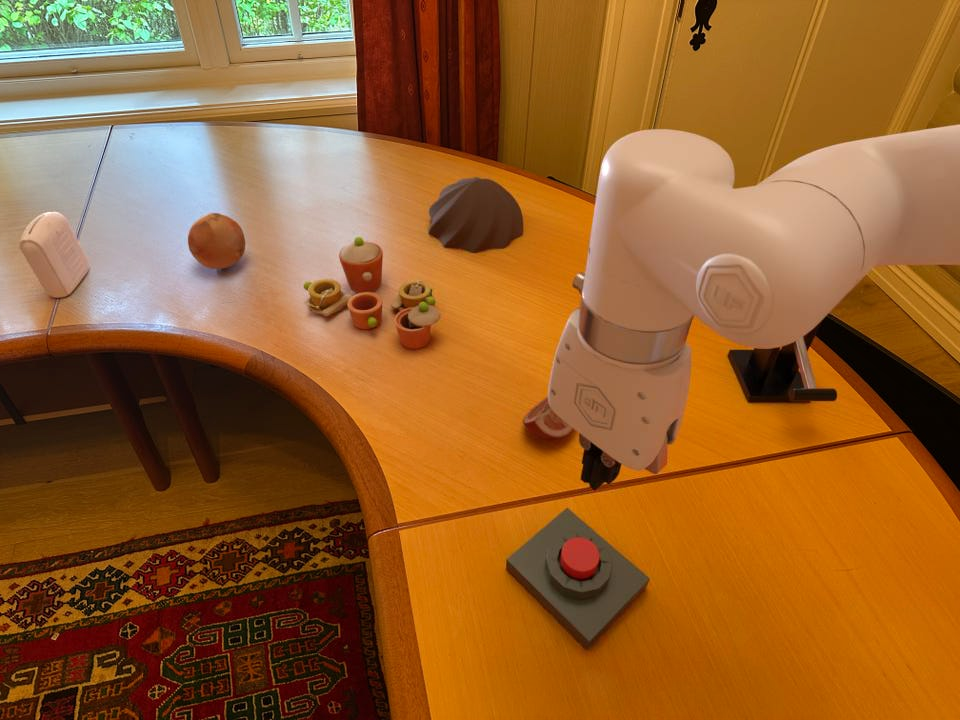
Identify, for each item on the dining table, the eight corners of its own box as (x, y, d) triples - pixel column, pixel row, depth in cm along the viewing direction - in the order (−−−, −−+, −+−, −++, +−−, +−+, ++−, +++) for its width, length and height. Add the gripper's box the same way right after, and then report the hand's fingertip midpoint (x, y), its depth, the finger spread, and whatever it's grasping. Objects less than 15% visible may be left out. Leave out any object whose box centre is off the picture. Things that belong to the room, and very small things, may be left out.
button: (605, 563, 65) (607, 555, 64) (580, 587, 63) (582, 579, 62) (577, 538, 67) (578, 530, 66) (552, 560, 65) (553, 552, 64)
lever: (830, 404, 79) (840, 397, 77) (788, 404, 79) (797, 397, 77) (806, 317, 85) (814, 308, 83) (767, 317, 85) (774, 308, 83)
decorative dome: (505, 261, 114) (506, 213, 107) (410, 239, 119) (406, 193, 112) (536, 213, 127) (540, 168, 120) (450, 196, 132) (449, 151, 125)
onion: (210, 248, 117) (193, 201, 110) (259, 251, 116) (246, 204, 109) (187, 277, 110) (167, 228, 103) (240, 280, 109) (224, 232, 102)
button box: (646, 588, 67) (653, 570, 64) (586, 650, 62) (591, 634, 59) (565, 517, 73) (568, 498, 70) (505, 569, 68) (506, 550, 66)
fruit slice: (547, 399, 87) (549, 375, 84) (586, 421, 84) (591, 397, 81) (512, 434, 83) (513, 409, 79) (553, 459, 80) (556, 434, 76)
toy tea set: (294, 308, 103) (281, 260, 96) (353, 264, 113) (346, 218, 106) (418, 364, 93) (414, 314, 86) (472, 310, 103) (472, 262, 96)
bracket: (810, 402, 87) (847, 335, 78) (747, 402, 87) (777, 335, 78) (784, 355, 94) (815, 289, 86) (727, 355, 94) (752, 289, 86)
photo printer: (71, 265, 112) (37, 205, 104) (94, 265, 112) (63, 204, 104) (45, 299, 105) (7, 237, 96) (70, 298, 105) (35, 236, 96)
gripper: (519, 291, 44) (510, 449, 57) (695, 403, 36) (640, 559, 49) (587, 254, 48) (564, 410, 60) (760, 347, 40) (693, 505, 52)
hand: (598, 476), depth 54 cm, fingers closed
